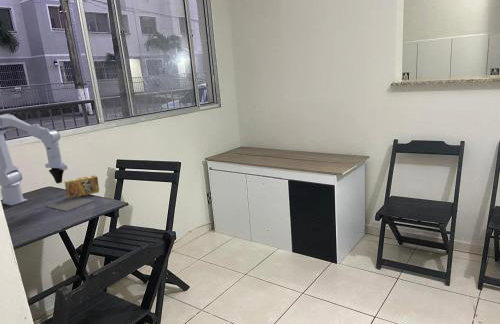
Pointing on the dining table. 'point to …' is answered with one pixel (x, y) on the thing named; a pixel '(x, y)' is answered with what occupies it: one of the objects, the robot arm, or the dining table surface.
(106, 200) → the dining table surface
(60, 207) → the mat
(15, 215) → the dining table surface
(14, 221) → the dining table surface
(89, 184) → the candy box
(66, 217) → the dining table surface
